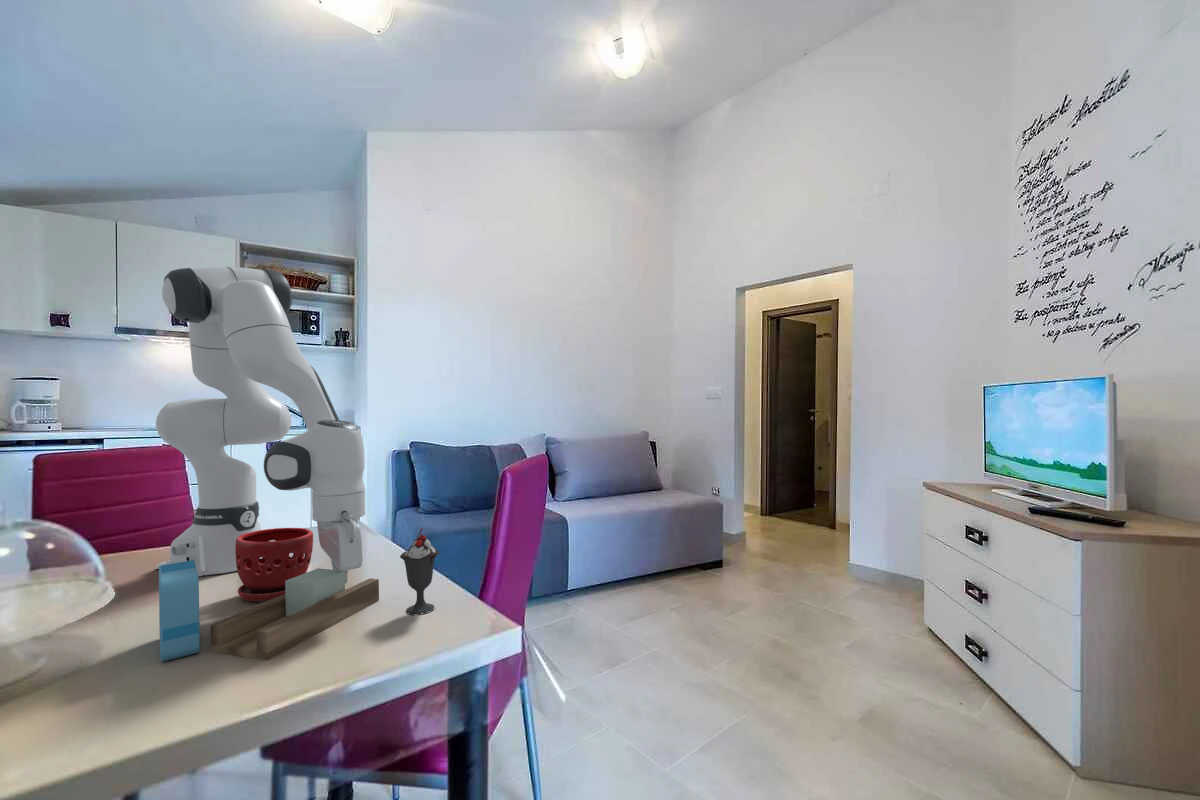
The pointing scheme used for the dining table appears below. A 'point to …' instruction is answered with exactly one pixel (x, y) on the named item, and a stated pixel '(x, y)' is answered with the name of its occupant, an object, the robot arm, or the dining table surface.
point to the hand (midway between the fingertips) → (340, 582)
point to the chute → (286, 622)
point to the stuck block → (312, 588)
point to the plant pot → (271, 560)
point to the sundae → (419, 571)
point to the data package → (178, 610)
